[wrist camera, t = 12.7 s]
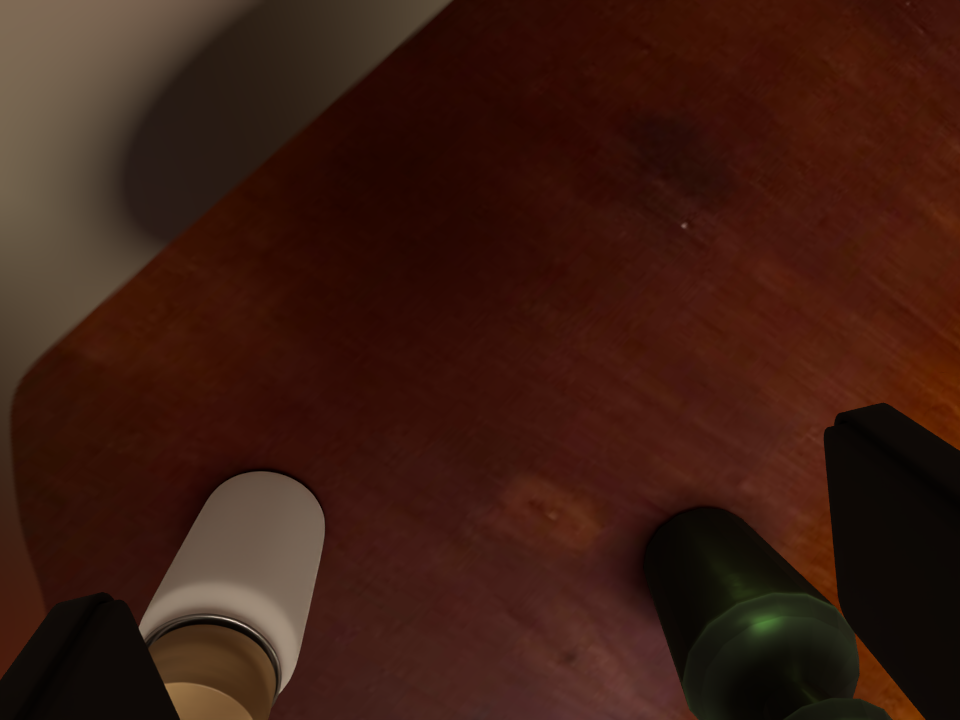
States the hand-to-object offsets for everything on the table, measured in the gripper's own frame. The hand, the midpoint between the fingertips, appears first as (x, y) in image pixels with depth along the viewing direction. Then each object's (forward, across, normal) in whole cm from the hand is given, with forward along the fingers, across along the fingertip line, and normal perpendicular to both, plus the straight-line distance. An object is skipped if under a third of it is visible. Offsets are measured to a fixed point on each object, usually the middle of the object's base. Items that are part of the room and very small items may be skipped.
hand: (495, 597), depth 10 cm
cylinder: (+16, +13, +12) cm, 24 cm away
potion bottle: (+29, -10, +21) cm, 37 cm away
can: (+29, +13, +13) cm, 34 cm away
